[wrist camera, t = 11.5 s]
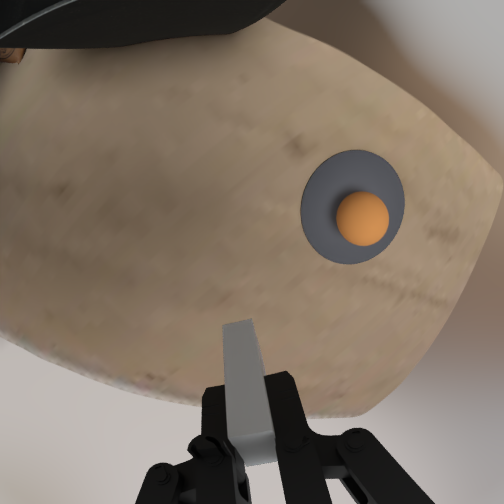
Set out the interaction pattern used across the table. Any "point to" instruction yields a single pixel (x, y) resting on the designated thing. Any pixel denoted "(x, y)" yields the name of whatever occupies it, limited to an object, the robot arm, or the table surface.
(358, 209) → the ball
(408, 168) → the table surface
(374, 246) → the disc
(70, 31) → the flower pot
